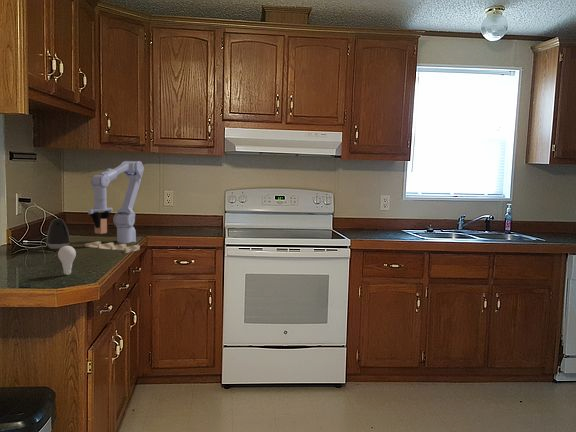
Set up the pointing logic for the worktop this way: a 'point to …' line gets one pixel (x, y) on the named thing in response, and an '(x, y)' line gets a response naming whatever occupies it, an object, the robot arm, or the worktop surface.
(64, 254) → the lightbulb
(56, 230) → the dark grey dome
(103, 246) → the notched rack
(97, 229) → the block
